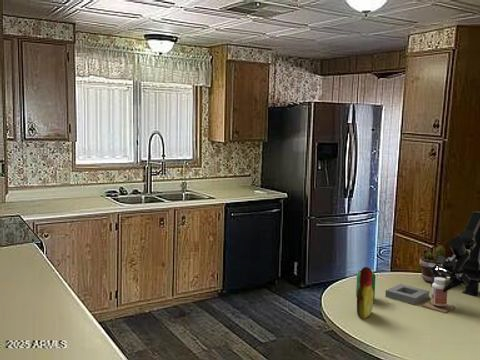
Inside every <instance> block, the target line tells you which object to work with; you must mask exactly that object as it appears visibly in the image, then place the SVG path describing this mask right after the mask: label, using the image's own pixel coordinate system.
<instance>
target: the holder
mask: <svg viewBox="0 0 480 360" xmlns="http://www.w3.org/2000/svg"><path fill="white" fill-rule="evenodd" d="M385 298H388V299H392V300H396V301H399V302H403V303H407V304H410V305H414V306H416V305H418V304H419V303H421V302H424V301H425V300H427V299H429V298H430V290H427V289H423V288H418V287H414V286H410V285H406V284H402V283H399V284H397V285H395V286H393V287H390V288H388V289H385Z"/></svg>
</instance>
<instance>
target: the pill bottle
mask: <svg viewBox="0 0 480 360" xmlns="http://www.w3.org/2000/svg"><path fill="white" fill-rule="evenodd" d="M446 284H447V279H445V278H441V277H435V278H434V283H433V284H432V287H431V299H430V301H431V303H432V304H434V305H437V306H445V305H446V304H448V300H447V299H448V291H446V292H443V289H444V287H445V286H446Z"/></svg>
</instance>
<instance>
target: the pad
mask: <svg viewBox="0 0 480 360" xmlns="http://www.w3.org/2000/svg"><path fill="white" fill-rule="evenodd" d="M421 308H425V309H428V310H432V311H436V312H439V313H443V314H446V313H448V312H449V311H452V310H453V309H454V308H456V306H455V305H453V304H449V303H447V304H446V305H445V306H437V305H434V304H432V303H431V300H429V301H427V302H426V303H424V304H422V305H421Z"/></svg>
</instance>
